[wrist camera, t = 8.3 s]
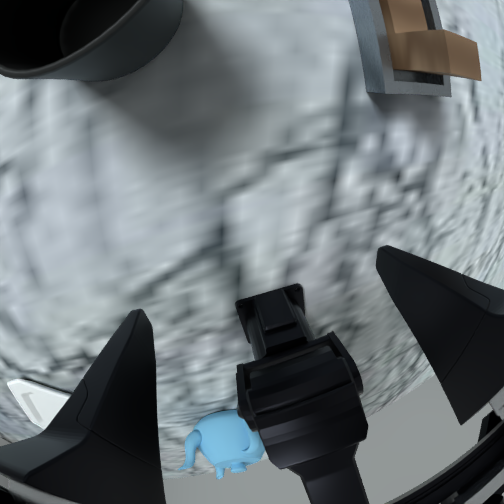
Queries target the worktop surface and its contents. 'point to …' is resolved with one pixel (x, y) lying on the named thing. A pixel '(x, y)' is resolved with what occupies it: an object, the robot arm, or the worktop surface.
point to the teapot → (224, 442)
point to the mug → (83, 37)
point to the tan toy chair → (426, 43)
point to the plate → (38, 400)
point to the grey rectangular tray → (379, 57)
